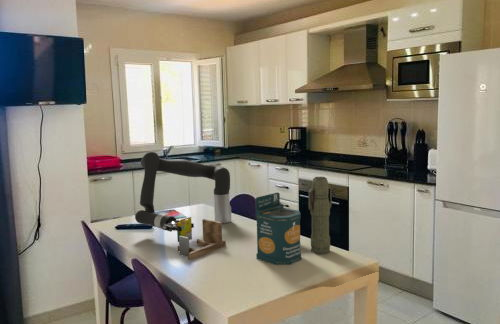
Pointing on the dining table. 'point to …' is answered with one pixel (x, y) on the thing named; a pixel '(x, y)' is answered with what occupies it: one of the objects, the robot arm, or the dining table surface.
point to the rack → (208, 239)
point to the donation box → (277, 231)
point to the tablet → (172, 213)
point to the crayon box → (185, 228)
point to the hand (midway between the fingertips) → (187, 227)
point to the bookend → (184, 245)
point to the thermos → (320, 214)
